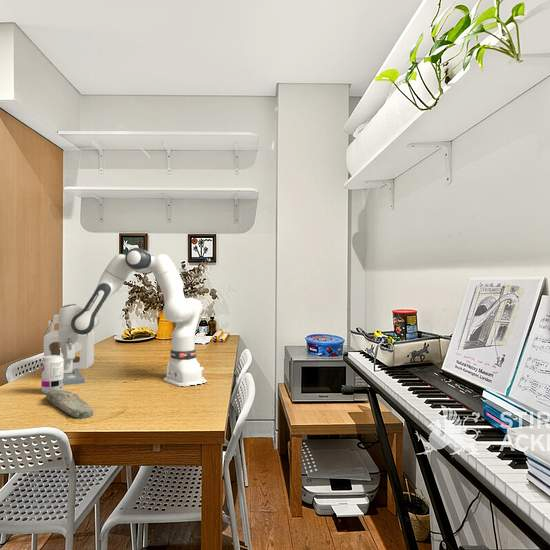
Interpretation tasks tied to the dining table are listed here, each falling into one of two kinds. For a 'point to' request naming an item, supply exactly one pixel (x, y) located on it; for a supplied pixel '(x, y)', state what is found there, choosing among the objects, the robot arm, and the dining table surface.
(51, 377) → the supplement can
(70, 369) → the block
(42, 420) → the dining table surface
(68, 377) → the power board
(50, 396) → the elongated rock
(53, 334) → the gable box
